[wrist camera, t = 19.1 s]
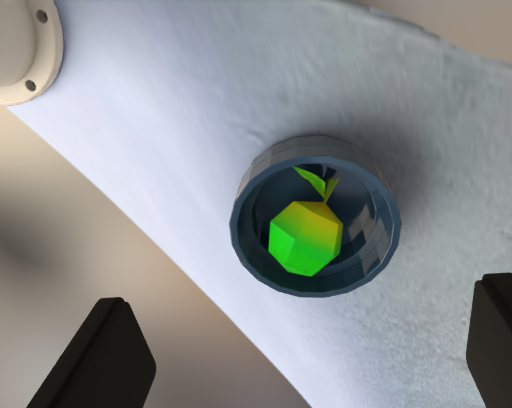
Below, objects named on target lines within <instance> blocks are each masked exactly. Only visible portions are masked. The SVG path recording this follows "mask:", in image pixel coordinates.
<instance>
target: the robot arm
mask: <svg viewBox="0 0 512 408" xmlns="http://www.w3.org/2000/svg"><path fill="white" fill-rule="evenodd" d="M46 14H47V16H46ZM47 17H48V18H47ZM62 55H63V35H62V27H61V23H60V19H59V15H58V11H57V8H56V6H55V3H54V1H53V0H0V106H12V105H18V104H22V103H25V102H28V101H30V100H33V99H35V98H36V97H38V96H40V95H41V94H43V93H44V92H45V91H46V90H47V89H48V88H49V87H50V86H51V85H52V83H53V81H54V80H55V78H56V76H57V75H58V72H59V69H60V65H61V62H62ZM466 360H467V364H468V368H469V370H470V372H471V375H472V377H473V379H474V381H475V383H476V386H477V388H478V390H479V392H480V395H481V397H482V399H483V401H484V403H485V406H486V408H512V273H494V274H484V276H483V278H482V280H478V281H476V282H475V288H474V295H473V303H472V311H471V318H470V326H469V334H468V342H467V349H466ZM155 374H156V363H155V360H154V358H153V356H152V354H151V352H150V349H149V347H148V345H147V343H146V340H145V338H144V336H143V333H142V331H141V329H140V327H139V324H138V323H137V320H136V318H135V316H134V313H133V311H132V309H131V307H130V305H129V303H128V302H125V301H124V300H123V298H121V297H115V298H101V299H99V300H98V302H97V303H96V304H95V306H94V307H93V309H92V310H91V312H90V313H89V315H88V316H87V318H86V319H85V321H84V322H83V324H82V325H81V327H80V328H79V330H78V331H77V333H76V334H75V336H74V337H73V339H72V340H71V342H70V343H69V345H68V346H67V348H66V349H65V351H64V352H63V353H62V355H61V356H60V358H59V360H58V361H57V362H56V364H55V366H54V367H53V368H52V370H51V371H50V373H49V375H48V376H47V378H46V379H45V380H44V382H43V383H42V385H41V386H40V388H39V389H38V391H37V392H36V394H35V395H34V397H33V398H32V400H31V401H30V403H29V404H28V406H27V407H26V408H143V406H144V403H145V400H146V398H147V395H148V393H149V390H150V388H151V385H152V382H153V380H154V377H155Z"/></svg>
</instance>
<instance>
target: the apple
mask: <svg viewBox="0 0 512 408" xmlns="http://www.w3.org/2000/svg"><path fill="white" fill-rule="evenodd" d="M292 167H293V168H294V169H295V170H296V171H297V172H298V173H299V174H300V175H301V176H302V177H304V178H305V179H306V180H307V181H308V182H309V183H310V184H311V185H312V186H313V187H314V188H315V189H316V190H317V191H318V192H319V193H320V194H321V195H322V197H323V202H307V201H293V202H292V203H291V204H290V205H289V206H287V207H286V208H285V209H284V210H283V211H282V212H281V213H280V214H278V215H277V216H276V217H275V218H274V219H273V220H272V221H271V222H270V236H269V250H268V251H269V252H270V253H271V254H272V255H273V256H274V257H275V259H276V260H277V261H278V262H279V263H280V264H281V265H282V266H283V267H284V268H285V269H286V270H287V271H288V272H291V273H296V274H301V275H305V276H310V277H311V276H313V275H314V274H316V273H318V272H319V271H320V270H321V269H322V268H323V267H325V266H326V265H327V264H328V263H329V262H330V261H332V260H333V259H334V258H335V257H336V256H337V255H339V254H340V249H341V239H342V230H343V223H342V222H341V221H340V220H339V219H338V218H337V216H336V215H335V214H334V213H333V212H332V211H331V210H330V208H329V207H328V206H327V205H326V204H325V203H326V201H327V200H328V198H329V196H330V194H331V193H332V191H333V189H334V187H335V185H336V184H337V182H338V180H339V178H327V182H326V187H325V182H324V181H323V180H322V179H321V178H320V177H319V176H318V175H316V174H313V173H310V172H307V171H305V170H302V169H299V168H296V167H294V166H292Z"/></svg>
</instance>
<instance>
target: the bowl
mask: <svg viewBox="0 0 512 408" xmlns="http://www.w3.org/2000/svg"><path fill="white" fill-rule="evenodd" d="M292 166H294V167H296V168H299V169H302V170H305V171H307V172H310V173H313V174H316V175H318V176H319V177H320V178H321V179H322V180H323V181H324V182H325V187H326V182H327V178H339V180H338V182H337V184H336V185H335V187H334V189H333V191H332V193H331V194H330V196H329V198H328V200H327V201H326V203H325V204H326V205H327V206H328V207H329V208H330V210H331V211H332V212H333V213H334V214H335V215H336V216H337V218H338V219H339V220H340V221H341V222H342V223H343V230H342V239H341V249H340V254H339V255H337V256H336V257H335V258H334V259H333V260H332V261H330V262H329V263H328V264H327V265H326V266H325V267H323V268H322V269H321V270H320V271H319V272H318V273H316V274H314V275H313V276H311V277H310V276H305V275H301V274H296V273H291V272H288V271H287V270H286V269H285V268H284V267H283V266H282V265H281V264H280V263H279V262H278V261H277V260H276V259H275V257H274V256H273V255H272V254H271V253H270V252H269V251H268V250H269V236H270V222H271V221H272V220H273V219H274V218H275V217H276V216H277V215H278V214H280V213H281V212H282V211H283V210H284V209H285V208H286V207H287V206H289V205H290V204H291V203H292V202H293V201H307V202H323V197H322V195H321V194H320V193H319V192H318V191H317V190H316V189H315V188H314V187H313V186H312V185H311V184H310V183H309V182H308V181H307V180H306V179H305V178H304V177H302V176H301V175H300V174H299V173H298V172H297V171H296V170H295V169H294V168H293V167H292ZM229 226H230V234H231V242H232V246H233V248H234V250H235V252H236V254H237V256H238V258H239V260H240V262H241V264H242V265H243V266H244V267H245V268H246V269H247V270H248V271H249V272H250V273H251V274H252V275H253V276H254V277H255V278H256V279H257V280H258V281H260V282H262V283H264V284H266V285H267V286H269V287H271V288H273V289H275V290H276V291H279V292H282V293H286V294H290V295H294V296H297V297H314V298H324V297H325V298H326V297H330V296H335V295H339V294H344V293H348V292H350V291H352V290H354V289H356V288H358V287H360V286H362V285H364V284H366V283H368V282H370V281H371V280H372V279H373V278H375V277H376V276H377V275H378V274H379V273H380V272H381V271H382V270H383V269H384V268H385V267H386V266H387V265H388V263H389V261H390V260H391V258H392V256H393V254H394V252H395V251H396V249H397V247H398V244H399V237H400V230H401V219H400V215H399V211H398V207H397V203H396V200H395V198H394V195H393V193H392V191H391V189H390V187H389V185H388V183H387V180H386V178H385V176H384V174H383V173H382V171H381V170H380V169H379V167H378V166H377V165H376V163H375V162H374V160H373V159H372V158H371V157H370V156H369V155H368V154H366V153H365V152H363V151H362V150H360V149H359V148H357V147H356V146H354V145H353V144H351V143H349V142H346V141H343V140H339V139H335V138H332V137H328V136H299V137H295V138H292V139H290V140H287V141H284V142H281V143H278V144H275V145H273V146H272V147H271V148H269V149H268V150H267V151H265V152H264V153H263V154H261V155H260V156H259V157H257V158H256V159H255V160H254V161H253V163H252V164H251V166H250V167H249V169H248V170H247V172H246V173H245V175H244V176H243V178H242V180H241V183H240V186H239V190H238V193H237V196H236V199H235V202H234V206H233V210H232V214H231V218H230V222H229Z"/></svg>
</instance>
